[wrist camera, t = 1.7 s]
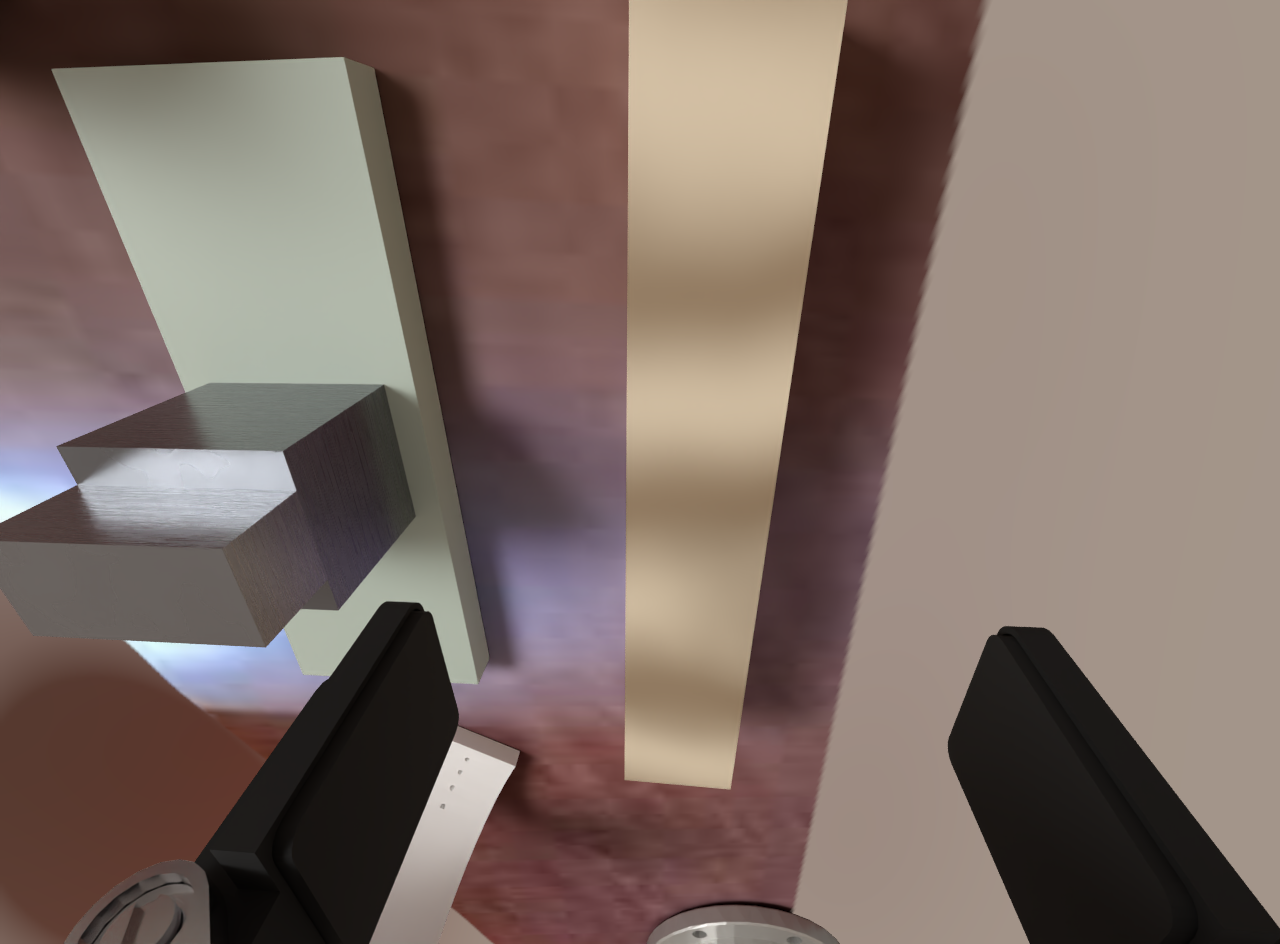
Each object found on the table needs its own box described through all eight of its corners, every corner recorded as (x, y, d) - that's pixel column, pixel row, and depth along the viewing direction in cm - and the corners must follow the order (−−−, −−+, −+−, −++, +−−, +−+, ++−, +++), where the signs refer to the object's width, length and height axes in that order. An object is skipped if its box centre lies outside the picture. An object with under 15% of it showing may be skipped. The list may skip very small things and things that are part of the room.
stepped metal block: (416, 516, 20) (280, 680, 13) (260, 512, 21) (56, 668, 14) (383, 384, 18) (201, 504, 11) (209, 382, 18) (-64, 496, 12)
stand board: (489, 657, 25) (478, 684, 24) (322, 649, 26) (302, 674, 25) (374, 68, 15) (343, 56, 14) (104, 78, 16) (50, 68, 14)
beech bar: (723, 683, 25) (730, 789, 21) (636, 676, 26) (624, 779, 21) (804, 16, 14) (856, -59, 10) (648, 16, 14) (629, -57, 10)
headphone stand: (520, 751, 28) (418, 1093, 18) (480, 809, 31) (370, 1136, 20) (436, 716, 28) (276, 1051, 17) (402, 779, 30) (246, 1102, 20)
